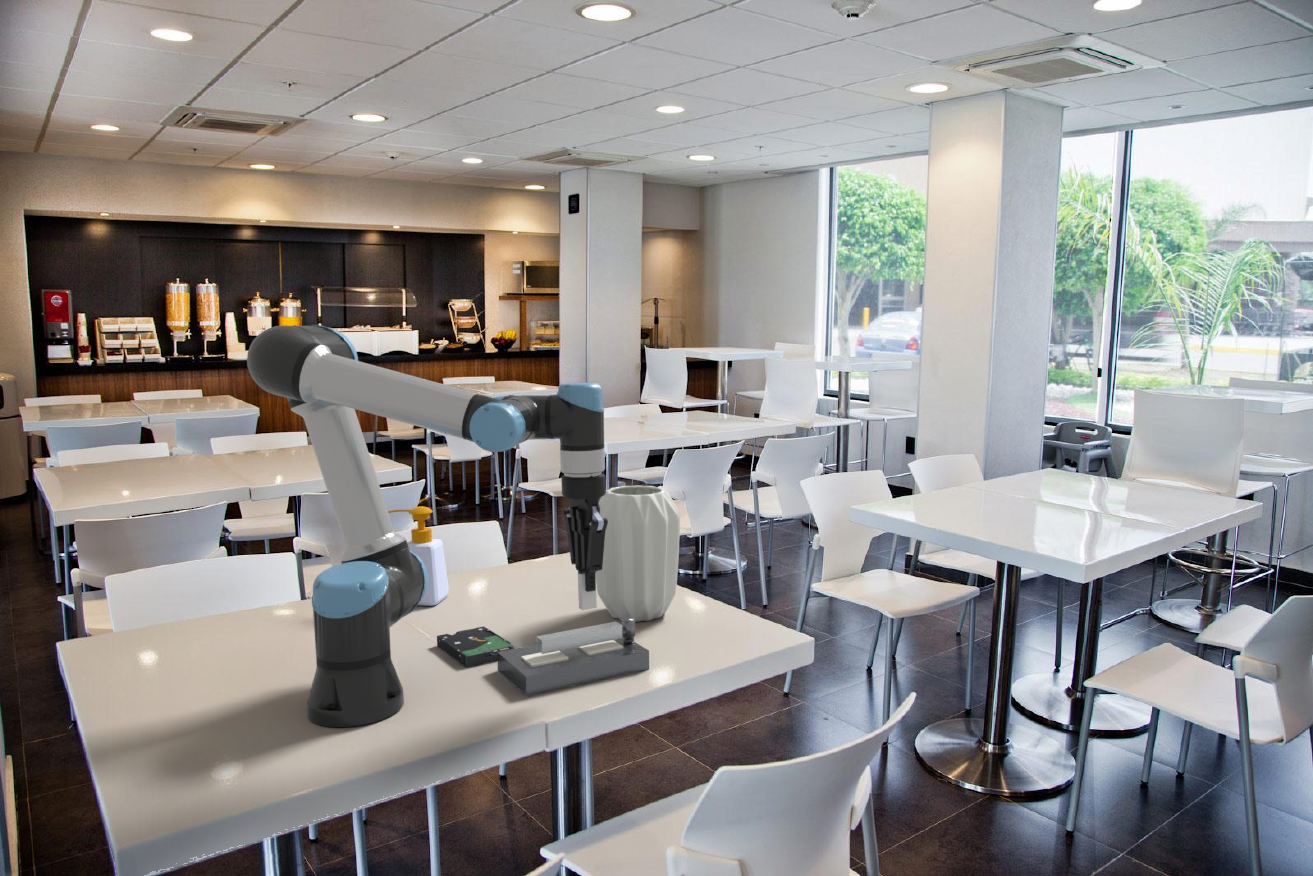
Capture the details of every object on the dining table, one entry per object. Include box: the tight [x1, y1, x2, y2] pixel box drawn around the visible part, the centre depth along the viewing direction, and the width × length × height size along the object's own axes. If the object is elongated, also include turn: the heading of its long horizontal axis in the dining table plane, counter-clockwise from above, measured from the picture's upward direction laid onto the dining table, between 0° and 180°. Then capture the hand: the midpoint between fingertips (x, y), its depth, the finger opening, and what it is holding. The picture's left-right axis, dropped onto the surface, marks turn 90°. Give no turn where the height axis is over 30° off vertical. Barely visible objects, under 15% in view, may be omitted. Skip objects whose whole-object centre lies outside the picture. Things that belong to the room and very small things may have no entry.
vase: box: [596, 485, 681, 623], centre depth 198 cm, size 20×20×27 cm
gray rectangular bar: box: [535, 617, 636, 654], centre depth 166 cm, size 19×2×3 cm, turn 120°
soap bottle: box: [388, 505, 450, 607], centre depth 210 cm, size 10×14×22 cm
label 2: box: [577, 640, 623, 655], centre depth 168 cm, size 7×5×1 cm
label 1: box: [521, 651, 569, 667], centre depth 162 cm, size 7×5×1 cm
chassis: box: [497, 637, 650, 697], centre depth 166 cm, size 24×14×4 cm, turn 120°
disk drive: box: [436, 626, 515, 669], centre depth 177 cm, size 10×3×15 cm
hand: (587, 607), depth 158 cm, fingers closed
